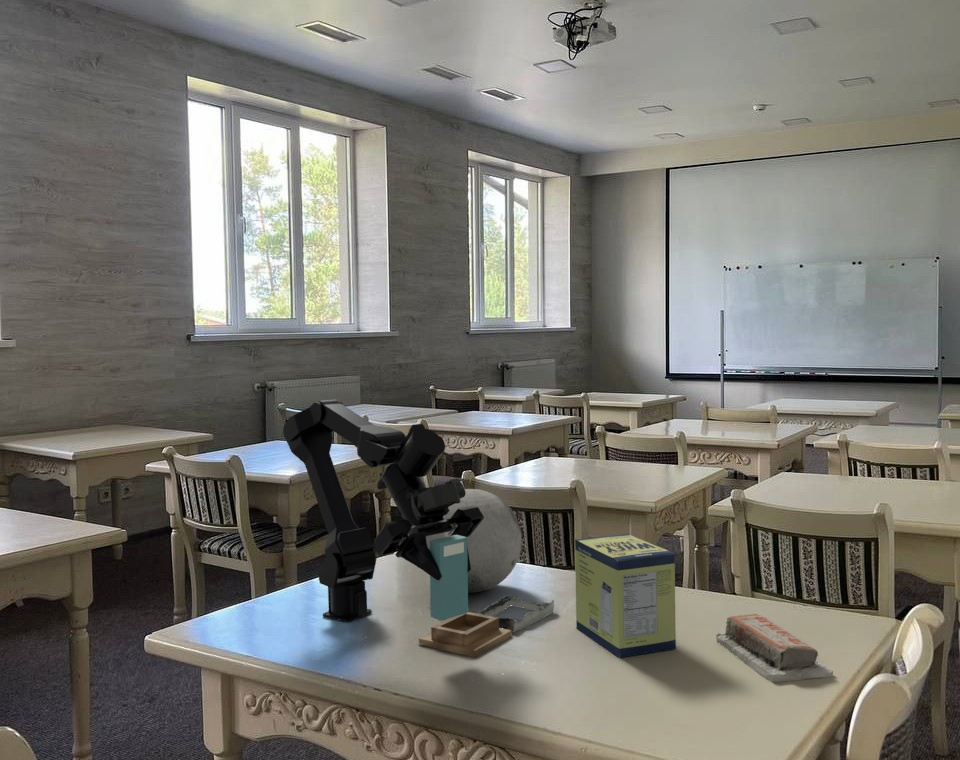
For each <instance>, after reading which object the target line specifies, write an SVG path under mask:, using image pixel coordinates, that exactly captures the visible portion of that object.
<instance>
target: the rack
mask: <svg viewBox="0 0 960 760" xmlns="http://www.w3.org/2000/svg"><path fill="white" fill-rule="evenodd" d="M499 618H500V617H496V616H493V617H492V616H486V615H481V614H478V613H475V612H470V611H468V613H465V614H462V615H459V616H455V617H452V618H449V619H445V620H442V621H441V622H439V623H437V624H435V625H433V626H431V627H430V632H429V633H427V634H425V635H424V636H423V635H422V636H421V637H419V638H418V645H419V644H421V645H420V646H423V645H425V646H424V647H428V646H429V648H432V647H434V648H433V649H438V650H442V651H447V652H451V653H455V654H460V655H465V656H469V657H472V658H473V657H474V658H476V657H478V656H479V655H481V654H483V653H485V652H486V651H488V650H490V649H491V648H493V646H494V647H495V646H497V645H499V644H501V643H502V642H504V641H506V640H508V639H509V638H511V637H512V633H513V632H512V631H511V630H507V629H502V628H499ZM500 642H501V643H500ZM484 651H485V652H484Z"/></svg>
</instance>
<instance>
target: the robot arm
mask: <svg viewBox="0 0 960 760" xmlns="http://www.w3.org/2000/svg"><path fill="white" fill-rule="evenodd" d="M334 432H335V434H337V435H339V436H340V437H342V438H343V439H345V440H346V441H347V442H349V443H350V444H352V445H353V446H354V447H356V454H357V456H358V458H360V459H361V460H362V461H363V462H364V464H366V466H368V467H370V468H378V467H379V468H380V467H385V466H387V467H386V468H385V470H384V472H380V473H379V478H378V482H377V483H376V484H377V485H376V488H377V490H385V489H387V490H388V493H389V495H390V497H391V498H392V501H393V503H394V504H395V506H396V508H395V510H394V511H393V512H394V514H395V516H396V518H399V517H401V518H402V519H399V520H393V521H392V520H391V521H389V522H385V524H384V525H383V527H382V528H381V529H380V531H379V533H378V534H377V535H376V536H375V538H374V541H372V538H371V537H372V536H371V533H370V531H369V529H368V528H367V527H362V528H360V527H359V526H358V525H357V524H356V523H355V522H354V520H353V517H352V514H351V511H350V508H349V506H348V502H347V499H346V497H345V493H344V491H343V488H342V485H341V482H340V480H339V477H338V474H337V471H336V468H335V465H334V463H333V460H332V456H331V454H330V453H331V448H332V444H333V440H334V437H333V433H334ZM282 433H283V437H284V439H285V441H286V443H287V445H288V447H289V449H290V452H291V453H292V454H293V455H294V456H295V457H296V458H298V459H299V460H300V461H301V462H302V463H303V464H304V467H305V469H306V471H307V475H308V478H309V480H310V484H311V486H312V490H313V492H314V496H315V499H316V501H317V504H318V507H319V510H320V514H321V517H322V520H323V522H324V525H325V528H326V531H327V537H326V543H325V547H324V555H325V560H324V561H323V563H322V565H320V568H319V569H318V571H317V575H318V580H319V584H321V585H324V586H326V587H327V595H328V596H327V597H328V598H327V599H328V603H327V604H328V611H325V612H323V613H322V617H323V618H329V619H334V620H338V621H341V622H342V621H343V622H347V623H349V622H352V621H354V620H358V619H360V618H362V617H365V616H366V615H368V614H372V611H373V610H372V609H370V608H368V596H367V595H368V594H367V593H368V591H367V590H366V581H368V580H373V578H374V573H375V568H376V565H377V564H376V563H377V556H378V557H379V558H382V557H386V556H390V555H394V554H395V557H396V558H402V559H403V560H405V561H407V562H409V563H411V564H412V565H413V566H416V567H417V568H419V569H420V570H422V571H423V572H425V573H426V574H428V575H429V577H430V576H432V577H433V578H435V579H436V580H440V579H441V578H442V575H441V572H440V570H439V567H438V565H437V563H436V561H435V560H434V558H433V556H432V554H431V552H430V550H429V548H428V546H427V543H426V536H430V535H434V534H439V533H443V534H444V536H445V537H448V536H453V535H460V536H464V537H468V536H470V535H471V534H472V533H473V531H474V530H475V529H476V528H477V526H478V525H479V524H480V522H481V521H482V520H483V519H484V516H483V514H482V513H481V511H480V509H479V508H478V507H475V506H470V507H465V508H460V509H457V510H456V512H455V513H454V514H453V516H452V517H451V518H450V519H446V520H444V518H443V516H444V515H447V513H448V512H449V511H450V510H449V508H448V507H449V506H451V505H453V504H455V503H457V504H458V503H460V502H461V501H460V499H461V498H463V497H465V494H466V492H465V489H466V488H465V486H464V484H463V483H462V481H461V480H460V479H459V478H452V479H450V480H449V481H445V483H444V484H438V485H435V486H429V487H427V486H426V484H425V482H424V480H423V479H422V477H426V476H427V475H429V474H430V472H431V471H432V469H433V468H434V467H435V465H436V463H437V462H438V460H439V459H440V458H441V456H442V455H443V453H444V452H445V450H446V443H445V441H444V439H443V437H442V436H440V435H439V434H437V433H436V432H435V431H433V430H431V429H429V428H426V427H425V425H424V424H423V423H417V424H414V423H413V424H412V425H411V426H410V428H409V429H408V432H407V434H406V435H405V433H404V432H403V431H401V430H399V429H397V428H396V429H395V428H393V427H390V426H383V425H377V424H374V423H372V422H370V421H369V420H367V419H366V418H364V417H362V416H361V415H359V414H358V413H356V412H354V411H353V410H351V409H350V408H348V407H347V406H345V405H344V404H343V402H342V401H341V400H338V399H325V400H323V399H322V400H317V401H316V402H314V403H312V404H311V405H310V406H309V407H308V408H306V409H303V410H301V411H299V412H297V413H295V414H294V415H292V416H290V417H288V419H287V420H286V422H285V423H284V425H283V427H282ZM397 549H398V550H397ZM396 550H397V551H396ZM395 552H396V553H395ZM467 562H468V572H469V571H470V570H471V565H470V559H469V553H468V547H467Z"/></svg>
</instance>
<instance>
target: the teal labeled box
mask: <svg viewBox="0 0 960 760" xmlns="http://www.w3.org/2000/svg"><path fill="white" fill-rule="evenodd" d="M430 552H431V554H432V556H433V558H434V560H435V561H436V563H437V565H438V567H439V570H440V572H441V575H442V578H441V579H440V580H436V579H435V578H433V577H432V576H430V575H429V581H430V583H429V586H430V587H429V589H430V590H429V593H430V595H429V596H430V618H432V619H435V620H438V621H441V622H443V621H445V620H447V619H449V618H452V617H455V616H459V615H462V614H465V613H468V612H469V599H468V598H469V593H468V562H467V537H464V536H460V535H453V536H448V537H444V538H439V539H435V540H430Z"/></svg>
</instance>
